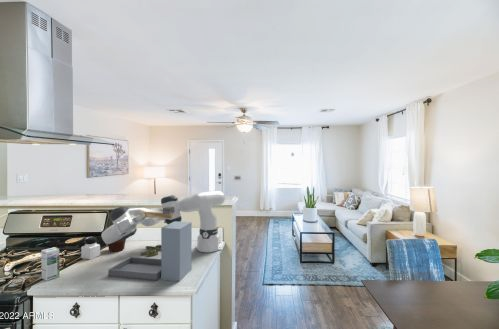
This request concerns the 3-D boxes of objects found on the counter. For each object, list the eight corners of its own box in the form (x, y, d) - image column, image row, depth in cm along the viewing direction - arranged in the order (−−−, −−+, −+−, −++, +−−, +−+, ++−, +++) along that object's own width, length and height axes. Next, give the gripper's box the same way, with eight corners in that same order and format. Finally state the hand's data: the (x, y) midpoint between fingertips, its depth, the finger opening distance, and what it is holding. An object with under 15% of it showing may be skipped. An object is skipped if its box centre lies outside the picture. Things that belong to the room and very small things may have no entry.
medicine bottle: (100, 255, 160) (100, 236, 160) (89, 259, 153) (89, 239, 153) (91, 254, 162) (91, 235, 162) (81, 258, 156) (81, 238, 156)
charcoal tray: (130, 262, 150) (130, 256, 150) (173, 266, 145) (173, 260, 145) (108, 276, 132) (108, 269, 132) (156, 281, 127) (156, 273, 127)
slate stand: (174, 268, 142) (174, 221, 142) (191, 269, 141) (191, 222, 140) (161, 279, 129) (161, 227, 128) (179, 281, 127) (180, 228, 126)
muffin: (103, 250, 169) (103, 235, 169) (120, 246, 178) (120, 231, 178) (112, 254, 162) (112, 238, 162) (129, 249, 172) (129, 234, 171)
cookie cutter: (147, 247, 176) (147, 245, 176) (165, 247, 177) (165, 244, 177) (138, 257, 158) (138, 254, 158) (158, 257, 160) (158, 253, 159)
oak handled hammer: (143, 215, 140) (143, 205, 140) (174, 216, 136) (174, 206, 136) (138, 217, 135) (138, 206, 135) (169, 218, 132) (169, 208, 131)
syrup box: (46, 281, 126) (46, 251, 126) (41, 278, 129) (41, 249, 129) (59, 276, 131) (59, 248, 131) (54, 274, 134) (54, 246, 134)
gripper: (141, 225, 149) (160, 214, 147) (117, 236, 129) (138, 223, 127) (136, 216, 150) (155, 205, 147) (111, 225, 129) (132, 212, 127)
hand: (147, 213), depth 137 cm, fingers closed on oak handled hammer, 3 cm apart
